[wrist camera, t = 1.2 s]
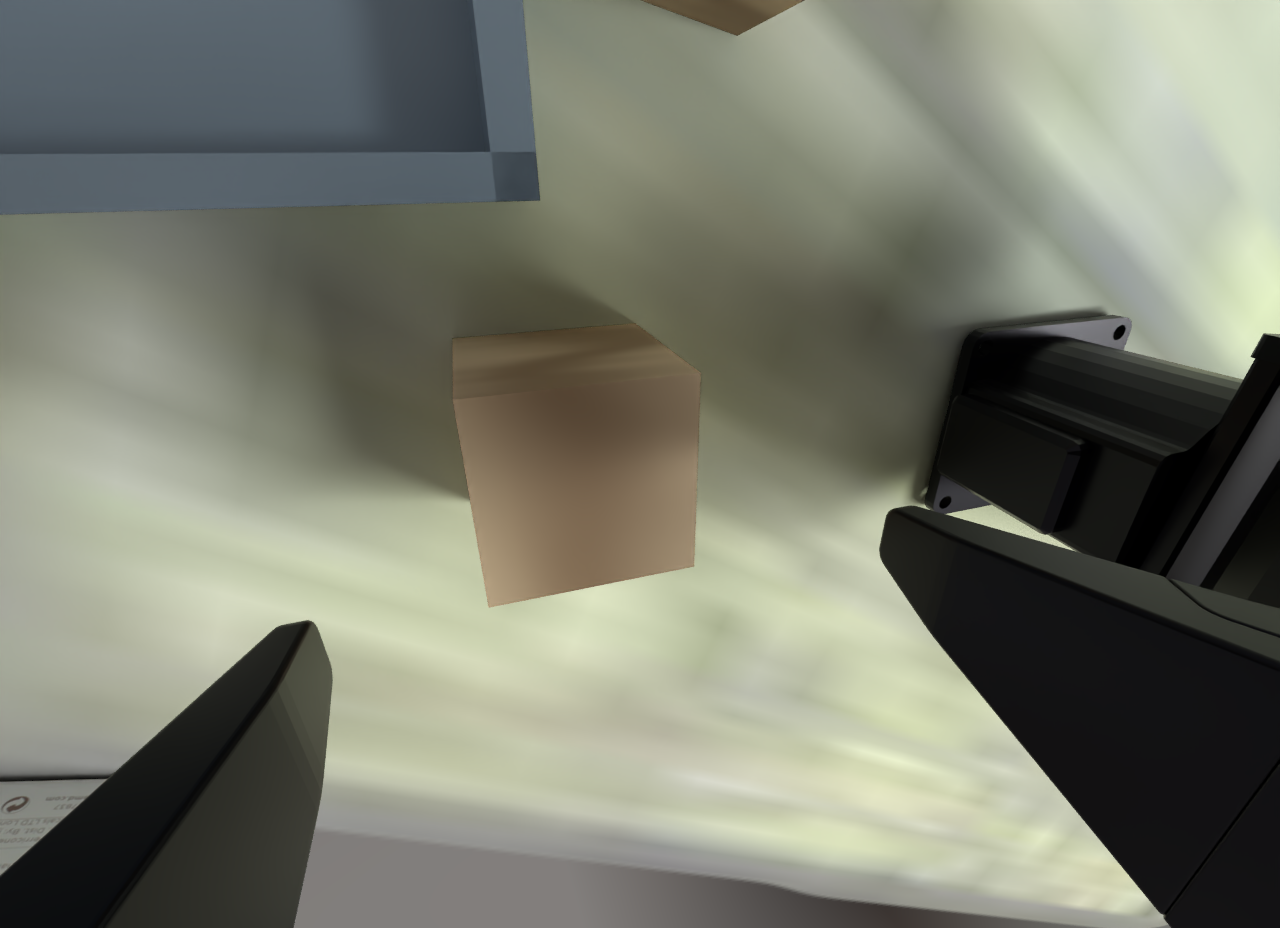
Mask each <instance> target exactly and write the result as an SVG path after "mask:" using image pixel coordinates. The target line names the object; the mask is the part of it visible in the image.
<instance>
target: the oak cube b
mask: <svg viewBox="0 0 1280 928" xmlns="http://www.w3.org/2000/svg"><path fill="white" fill-rule="evenodd" d="M641 1H644V2H647V3H650V4H652V5H655V6H658V7H661V8H663V9H666V10H669V11H671V12H674V13H677V14H680V15H682V16H685V17H688V18H691V19H693V20H696V21H699V22H702V23H704V24H707V25H710V26H712V27H715V28H718V29H721V30H723V31H726V32H729V33H732V34H734V35H737V36H738V35H740V34H741V33H743V32H745V31H747V30H749V29H751V28H753V27H755V26H757V25H758V24H760V23H762V22H764V21H766V20H768V19H770V18H772V17H774V16H776V15H777V14H779V13H781V12H783V11H785V10H787V9H789V8H791V7H793V6H795V5H796V4H798V3H800V2H802V1H804V0H641Z"/></svg>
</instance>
